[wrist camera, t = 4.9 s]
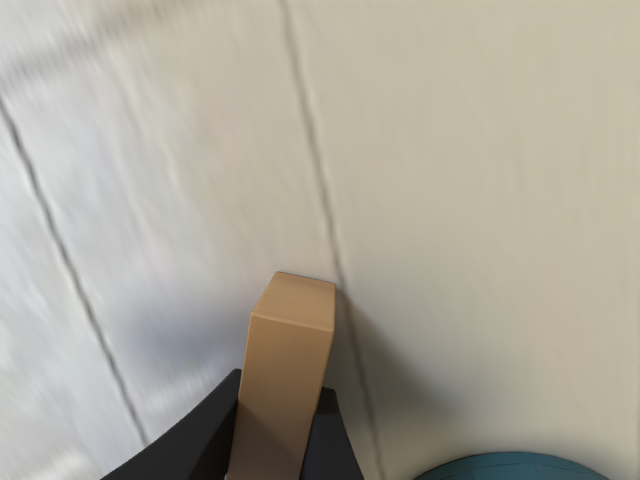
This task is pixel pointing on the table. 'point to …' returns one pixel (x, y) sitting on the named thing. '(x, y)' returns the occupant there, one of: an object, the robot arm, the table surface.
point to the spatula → (282, 378)
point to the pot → (512, 468)
